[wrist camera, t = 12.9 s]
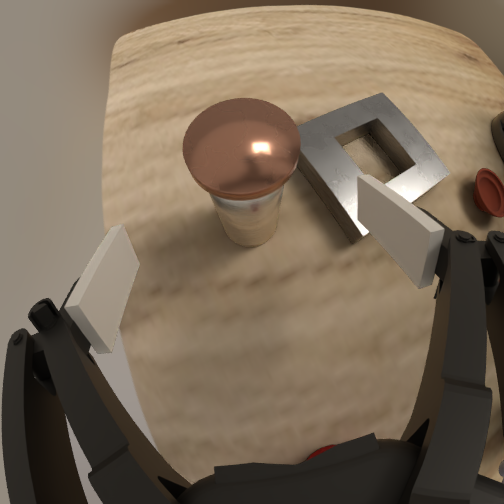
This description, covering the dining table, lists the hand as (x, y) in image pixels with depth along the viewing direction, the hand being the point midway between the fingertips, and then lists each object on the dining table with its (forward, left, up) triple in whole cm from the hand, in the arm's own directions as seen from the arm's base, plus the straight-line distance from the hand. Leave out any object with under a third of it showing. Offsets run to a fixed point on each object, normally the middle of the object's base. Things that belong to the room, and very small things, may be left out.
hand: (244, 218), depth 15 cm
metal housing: (-16, -2, -11) cm, 19 cm away
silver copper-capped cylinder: (-2, -3, -11) cm, 11 cm away
